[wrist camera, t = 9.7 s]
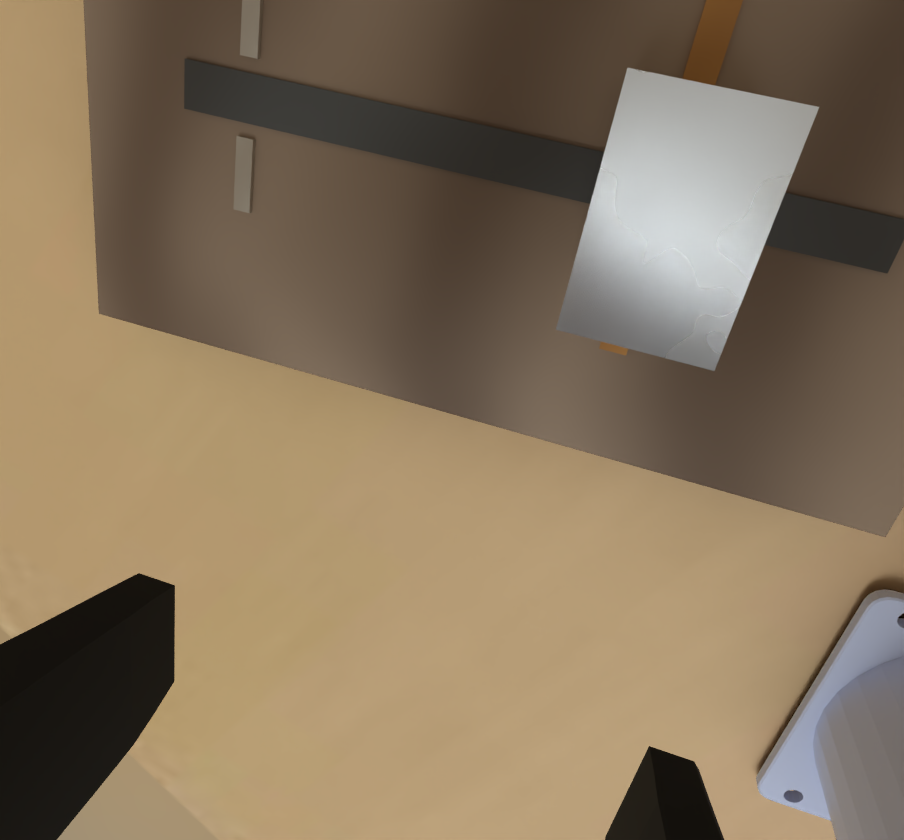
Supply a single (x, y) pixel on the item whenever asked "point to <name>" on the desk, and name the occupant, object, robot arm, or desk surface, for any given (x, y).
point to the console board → (509, 218)
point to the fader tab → (680, 215)
